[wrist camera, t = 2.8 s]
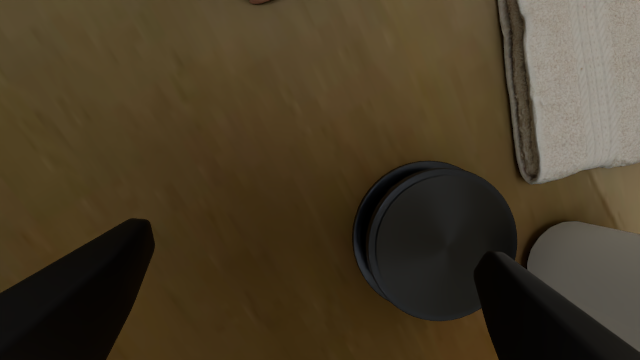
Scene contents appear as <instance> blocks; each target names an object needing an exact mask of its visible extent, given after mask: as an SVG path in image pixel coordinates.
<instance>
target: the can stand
mask: <svg viewBox="0 0 640 360" xmlns="http://www.w3.org/2000/svg"><path fill="white" fill-rule="evenodd" d="M352 243H353V251H354V256H355V259H356V262H357V265H358V267H359V269H360V271H361V273H362V275H363V276H364V278H365V279H366V281H367V282H368V284H369V285H370V286H371V287H372V288H373V289H374V290H375V291H376V292H377V293H378V294H379V295H380V296H382V297H383V298H385V299H386V300H388V301H389V302H391V303H392V304H393V305H395V306H396V307H397V308H399V309H400V310H402V311H403V312H405V313H407V314H409V315H411V316H414V317H417V318H420V319H424V320H430V321H448V320H454V319H458V318H462V317H464V316H467V315H470V314H472V313H474V312H475V311H477V310H479V309H480V308H482V307H481V304H480V300H479V296H478V293H477V289H476V285H475V282H474V277H473V273H474V269H475V268H476V266H477V265H478V263H479V261H480V260H481V258H482V257H483V255H484V254H485V253H486V252H487V251H496V252H503V253H505V254H506V255H508V256H509V257H510V258H512V259H513V260H514V261H515V257H516V250H517V231H516V225H515V221H514V218H513V215H512V212H511V210H510V208H509V206H508V204H507V202H506V201H505V199H504V198H503V196H502V195H501V194H500V193H499V191H498V190H497V189H496V188H495V187H494V186H492V185H491V184H490V183H489V182H487V181H486V180H485V179H483V178H481V177H479V176H477V175H476V174H473V173H470V172H468V171H465V170H463V169H461V168H459V167H457V166H454V165H451V164H448V163H443V162H437V161H419V162H413V163H408V164H405V165H402V166H399V167H397V168H395V169H393V170H391V171H390V172H388V173H387V174H385V175H384V176H382V177H381V178H380V179H379V180H378V181H376V182H375V183H374V184H373V186H372V187H371V188H370V189H369V190H368V192H367V193H366V195H365V196H364V197H363V199H362V201H361V203H360V205H359V207H358V210H357V213H356V215H355V219H354V224H353V232H352Z"/></svg>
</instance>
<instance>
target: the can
mask: <svg viewBox="0 0 640 360" xmlns="http://www.w3.org/2000/svg"><path fill="white" fill-rule="evenodd" d="M527 270H528V271H529V272H531V273H532V274H534V275H535V276H536V277H538V278H539V279H540V280H542V281H543V282H545V283H546V284H547V285H549V286H550V287H551V288H553V289H554V290H555V291H557V292H558V293H560V294H561V295H562V296H564V297H565V298H566V299H568V300H569V301H570V302H572V303H573V304H575V305H576V306H577V307H579V308H580V309H581V310H583V311H584V312H586V313H587V314H588V315H590V316H591V317H592V318H594V319H595V320H596V321H598V322H599V323H601V324H602V325H603V326H605V327H606V328H607V329H609V330H610V331H612V332H613V333H614V334H616V335H617V336H618V337H620V338H621V339H622V340H624V341H625V342H627V343H628V344H629V345H631V346H632V347H633V348H635V349H636V350H638V351H639V352H640V234H635V233H631V232H626V231H621V230H616V229H612V228H607V227H602V226H597V225H593V224H588V223H583V222H578V221H571V222H562V223H560V224H557V225H555V226H552V227H550V228H549V229H548V230H547V231H545V232H544V233H543V234H542V235H541V236H540V237H539V238H538V240H537V241H536V243H535V244H534V246H533V247H532V249H531V251H530V255H529V258H528V262H527Z"/></svg>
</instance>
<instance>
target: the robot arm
mask: <svg viewBox="0 0 640 360" xmlns="http://www.w3.org/2000/svg"><path fill="white" fill-rule="evenodd" d="M154 248H155V242H154V237H153V233H152V228H151V224H150V222H149V221H148V220H146V219H136V218H131V219H128V220H126V221H125V222H123V223H121V224H119V225H118V226H116V227H114V228H113V229H111V230H109V231H107V232H106V233H104V234H102V235H100V236H99V237H97V238H95V239H93V240H92V241H90V242H88V243H87V244H85V245H83V246H81V247H80V248H78V249H76V250H74V251H73V252H71V253H69V254H67V255H66V256H64V257H62V258H61V259H59V260H57V261H55V262H54V263H52V264H50V265H48V266H47V267H45V268H43V269H42V270H40V271H38V272H36V273H35V274H33V275H31V276H29V277H28V278H26V279H24V280H22V281H21V282H19V283H17V284H16V285H14V286H12V287H10V288H9V289H7V290H5V291H3V292H2V293H0V360H106V359H107V357H108V355H109V353H110V351H111V349H112V347H113V345H114V343H115V341H116V339H117V337H118V335H119V333H120V331H121V329H122V327H123V325H124V323H125V321H126V320H127V317H128V315H129V313H130V311H131V309H132V307H133V304H134V302H135V300H136V297H137V294H138V292H139V289H140V286H141V284H142V281H143V279H144V276H145V273H146V271H147V268H148V265H149V263H150V260H151V258H152V255H153V252H154ZM473 277H474V282H475V285H476V289H477V293H478V296H479V300H480V304H481V307H482V311H483V314H484V318H485V322H486V325H487V328H488V332H489V334H490V337H491V340H492V343H493V345H494V348H495V351H496V353H497V356H498V359H499V360H640V352H639V351H638V350H636V349H635V348H633V347H632V346H631V345H629V344H628V343H627V342H625V341H624V340H622V339H621V338H620V337H618V336H617V335H616V334H614V333H613V332H612V331H610V330H609V329H607V328H606V327H605V326H603V325H602V324H601V323H599V322H598V321H596V320H595V319H594V318H592V317H591V316H590V315H588V314H587V313H586V312H584V311H583V310H581V309H580V308H579V307H577V306H576V305H575V304H573V303H572V302H570V301H569V300H568V299H566V298H565V297H564V296H562V295H561V294H560V293H558V292H557V291H555V290H554V289H553V288H551V287H550V286H549V285H547V284H546V283H545V282H543V281H542V280H540V279H539V278H538V277H536V276H535V275H534V274H532V273H531V272H529V271H528V270H527V269H525V268H524V267H523V266H521V265H520V264H519V263H517V262H516V261H514V260H513V259H512V258H510V257H509V256H508V255H506V254H505V253H503V252H496V251H487V252H486V253H485V254H484V255H483V257H482V258H481V260H480V261H479V263H478V265H477V266H476V268H475V269H474V273H473Z"/></svg>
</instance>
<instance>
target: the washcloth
mask: <svg viewBox="0 0 640 360" xmlns="http://www.w3.org/2000/svg"><path fill="white" fill-rule="evenodd" d="M498 7H499V14H500V23H501V28H502V32H503V35H504V59H505V68H506V78H507V87H508V92H509V98H510V105H511V115H512V125H513V136H514V143H515V150H516V157H517V163H518V166H519V169H520V173H521V175H522V177H523V178H524V179H525V181H527V182H528V183H529V184H536V183H538V184H541V183H545V182H549V181H552V180H558V179H560V178H564V177H567V176H569V175H571V174H575V173H577V172H579V171H581V170H587V169H592V168H597V167H601V168H604V167H605V168H612V167H619V166H625V165H631V164H635V163H639V162H640V0H498Z"/></svg>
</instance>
